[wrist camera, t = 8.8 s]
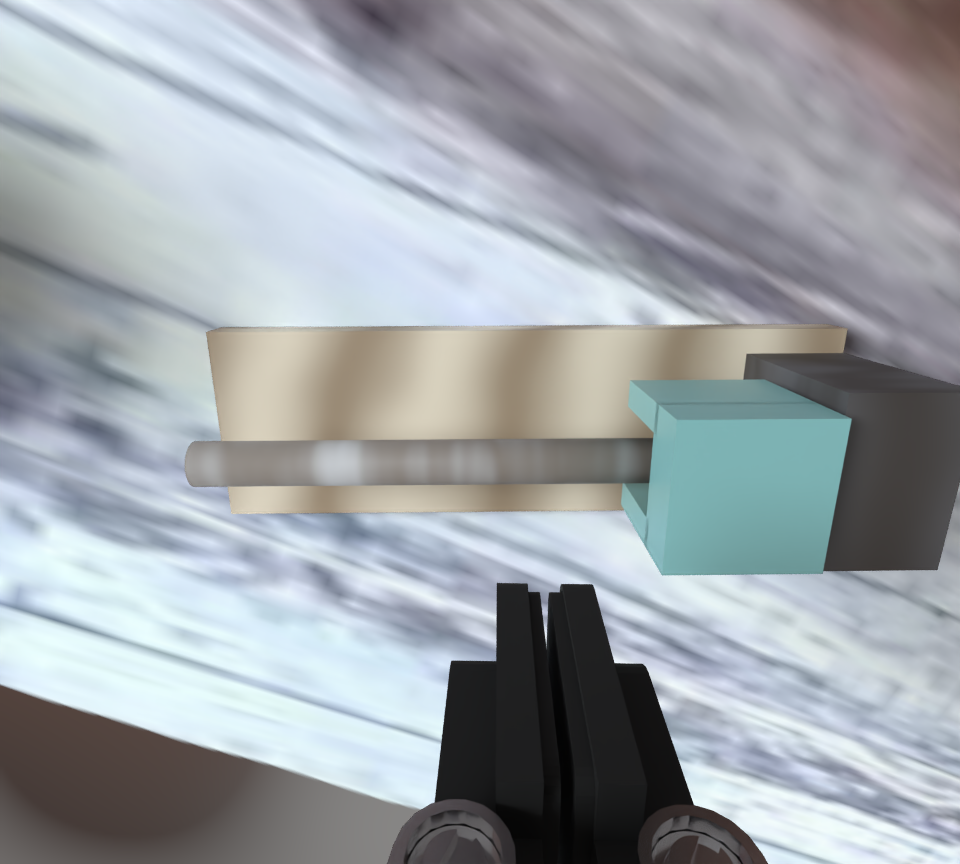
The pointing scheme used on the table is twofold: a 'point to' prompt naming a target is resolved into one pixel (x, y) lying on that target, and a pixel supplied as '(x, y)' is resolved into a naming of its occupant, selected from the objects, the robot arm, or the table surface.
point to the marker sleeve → (736, 477)
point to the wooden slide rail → (554, 422)
